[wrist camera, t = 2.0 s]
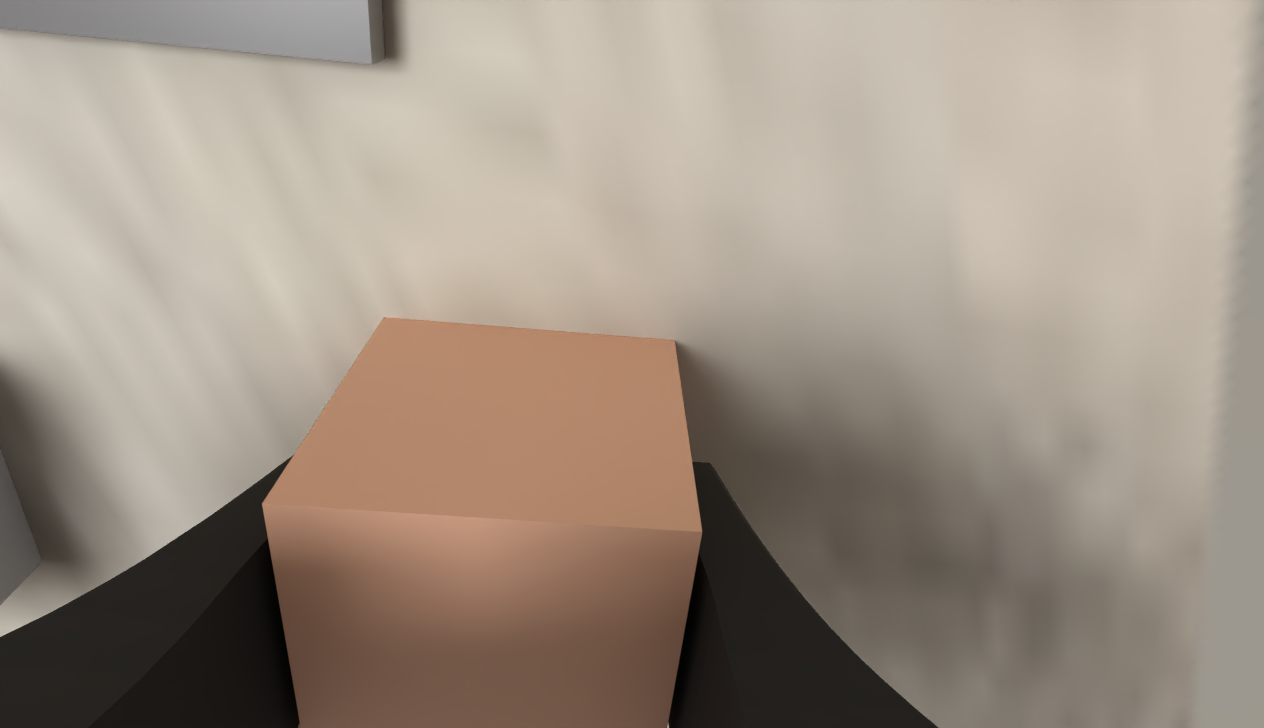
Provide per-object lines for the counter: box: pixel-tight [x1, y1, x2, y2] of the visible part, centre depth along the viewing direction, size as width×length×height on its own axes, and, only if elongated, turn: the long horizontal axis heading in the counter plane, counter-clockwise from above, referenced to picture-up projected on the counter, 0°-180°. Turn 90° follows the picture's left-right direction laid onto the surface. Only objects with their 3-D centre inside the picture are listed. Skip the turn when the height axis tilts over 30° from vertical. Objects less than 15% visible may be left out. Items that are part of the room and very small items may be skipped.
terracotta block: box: [262, 317, 702, 728], centre depth 11 cm, size 4×4×4 cm
